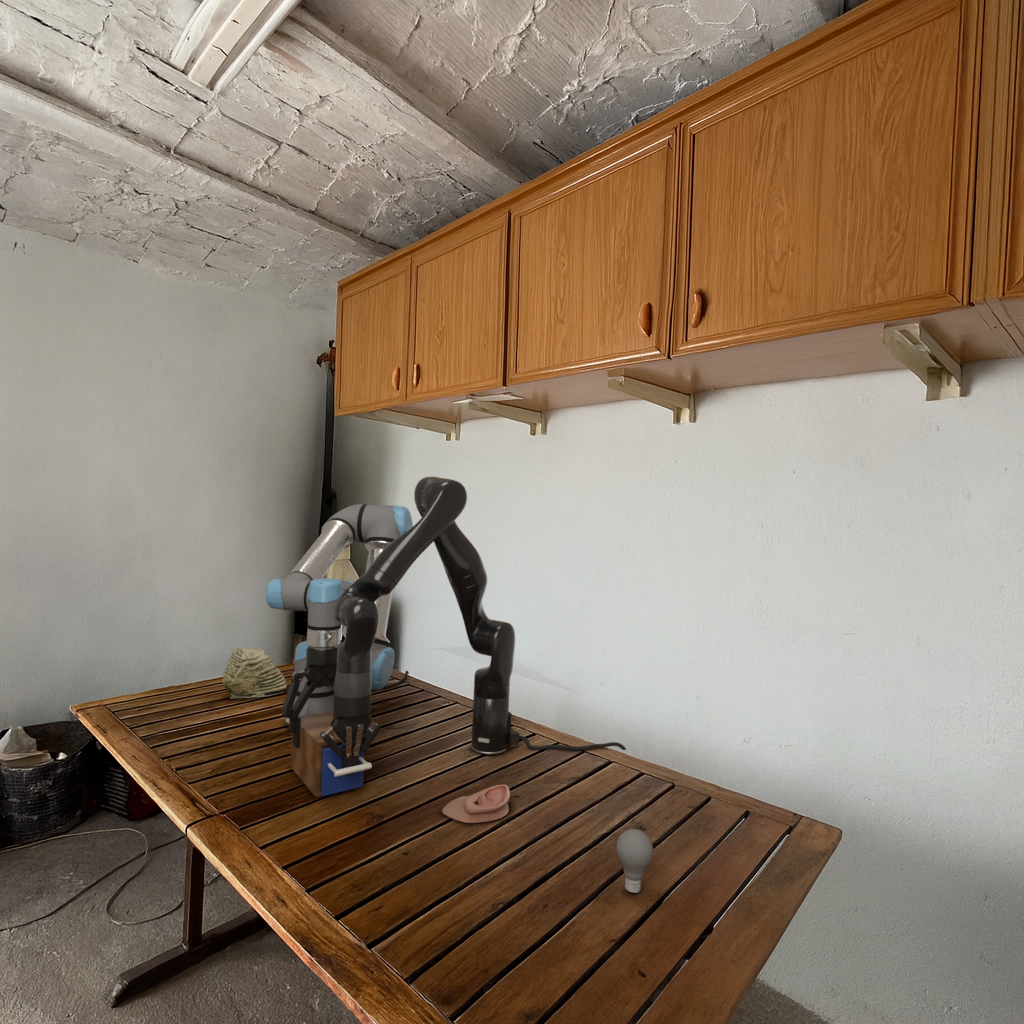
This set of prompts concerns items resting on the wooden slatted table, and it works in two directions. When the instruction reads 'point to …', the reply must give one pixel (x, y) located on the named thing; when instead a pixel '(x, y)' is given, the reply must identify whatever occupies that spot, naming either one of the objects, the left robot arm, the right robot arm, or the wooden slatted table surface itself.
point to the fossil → (252, 674)
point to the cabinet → (311, 749)
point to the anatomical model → (480, 805)
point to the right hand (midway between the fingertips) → (349, 773)
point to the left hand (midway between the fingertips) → (319, 741)
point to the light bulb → (634, 857)
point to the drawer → (340, 772)
